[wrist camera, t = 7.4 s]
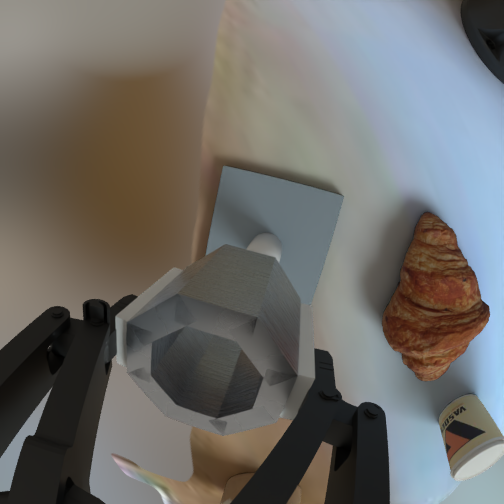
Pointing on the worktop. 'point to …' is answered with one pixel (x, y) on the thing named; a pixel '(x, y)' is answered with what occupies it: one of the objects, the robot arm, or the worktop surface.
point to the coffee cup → (470, 437)
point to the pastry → (434, 302)
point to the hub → (219, 342)
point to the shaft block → (276, 223)
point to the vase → (240, 481)
